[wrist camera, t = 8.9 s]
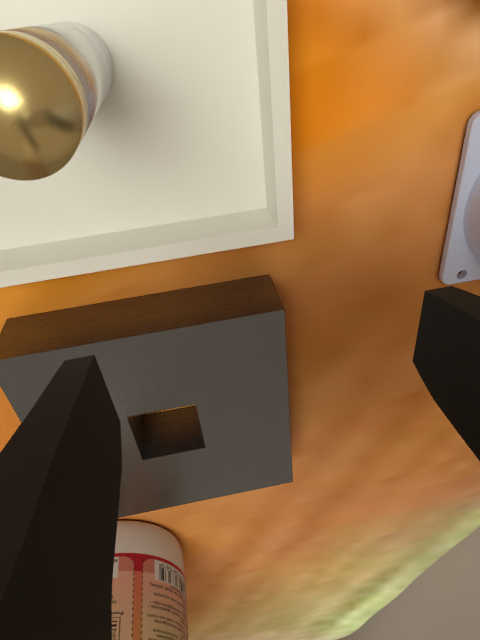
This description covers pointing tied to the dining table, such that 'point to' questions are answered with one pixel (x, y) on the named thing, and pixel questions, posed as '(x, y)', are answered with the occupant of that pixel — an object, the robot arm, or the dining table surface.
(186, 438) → the block
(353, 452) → the dining table surface
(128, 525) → the fruit juice
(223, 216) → the tray
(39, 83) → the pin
